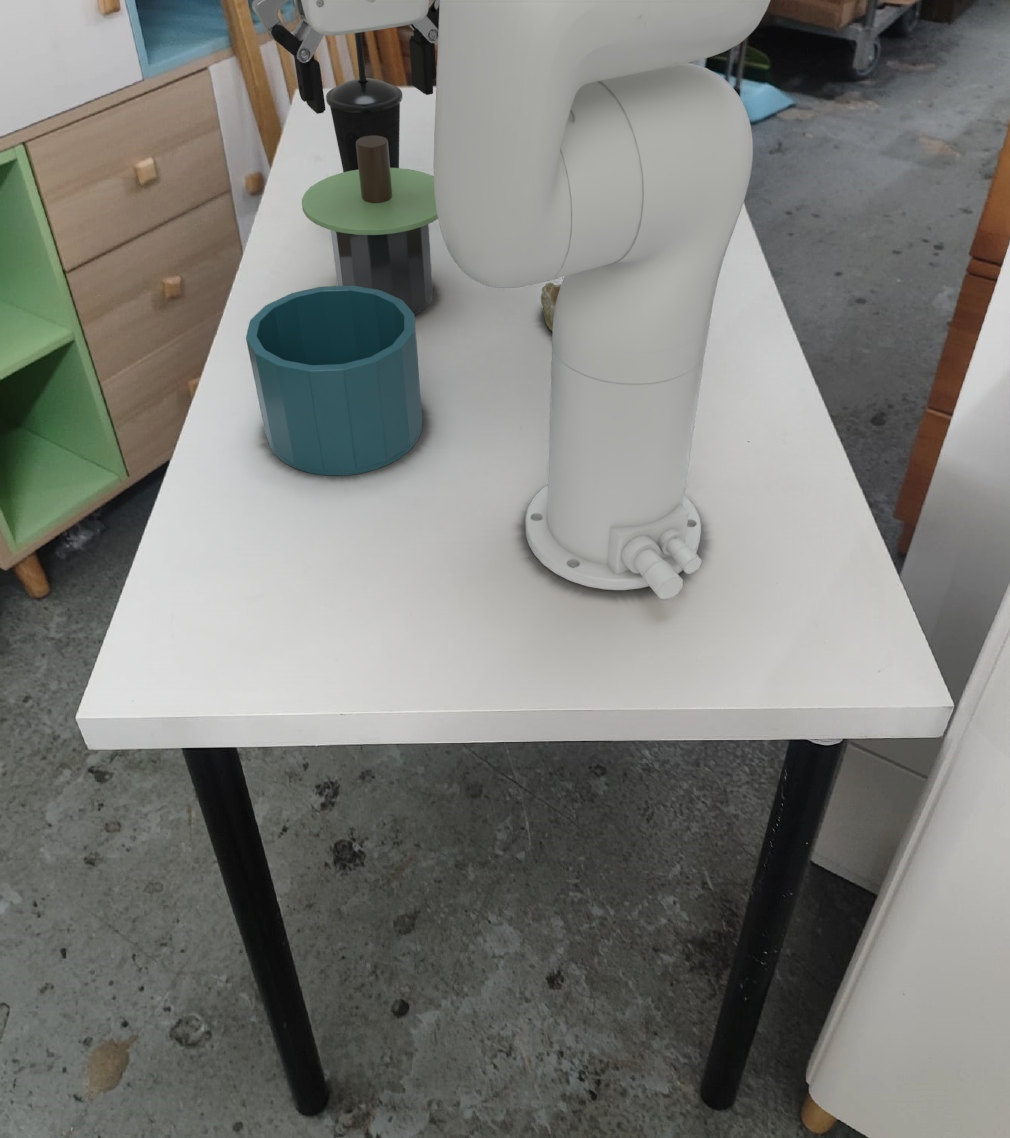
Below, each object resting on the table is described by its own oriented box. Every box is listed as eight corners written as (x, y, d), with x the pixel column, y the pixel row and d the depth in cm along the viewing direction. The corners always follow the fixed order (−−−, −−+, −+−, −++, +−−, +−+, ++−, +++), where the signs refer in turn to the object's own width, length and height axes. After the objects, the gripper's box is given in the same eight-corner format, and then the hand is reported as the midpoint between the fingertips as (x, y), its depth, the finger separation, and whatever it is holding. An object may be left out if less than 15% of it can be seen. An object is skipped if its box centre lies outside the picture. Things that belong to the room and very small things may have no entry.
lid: (476, 222, 92) (474, 153, 88) (331, 253, 87) (322, 183, 83) (418, 168, 101) (414, 104, 97) (284, 194, 96) (274, 128, 92)
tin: (446, 449, 82) (440, 344, 76) (294, 493, 78) (275, 387, 72) (389, 372, 90) (379, 272, 84) (249, 409, 86) (227, 307, 80)
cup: (447, 308, 99) (443, 218, 93) (359, 329, 96) (348, 238, 90) (412, 269, 105) (405, 181, 98) (328, 288, 102) (316, 199, 96)
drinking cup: (420, 232, 111) (407, 30, 97) (352, 244, 109) (328, 40, 95) (399, 204, 116) (384, 9, 102) (333, 215, 114) (309, 18, 100)
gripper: (244, -127, 70) (285, 130, 82) (473, -148, 76) (481, 95, 87) (217, -141, 75) (259, 103, 87) (433, -160, 81) (446, 72, 92)
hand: (370, 99), depth 87 cm, fingers open, 9 cm apart
